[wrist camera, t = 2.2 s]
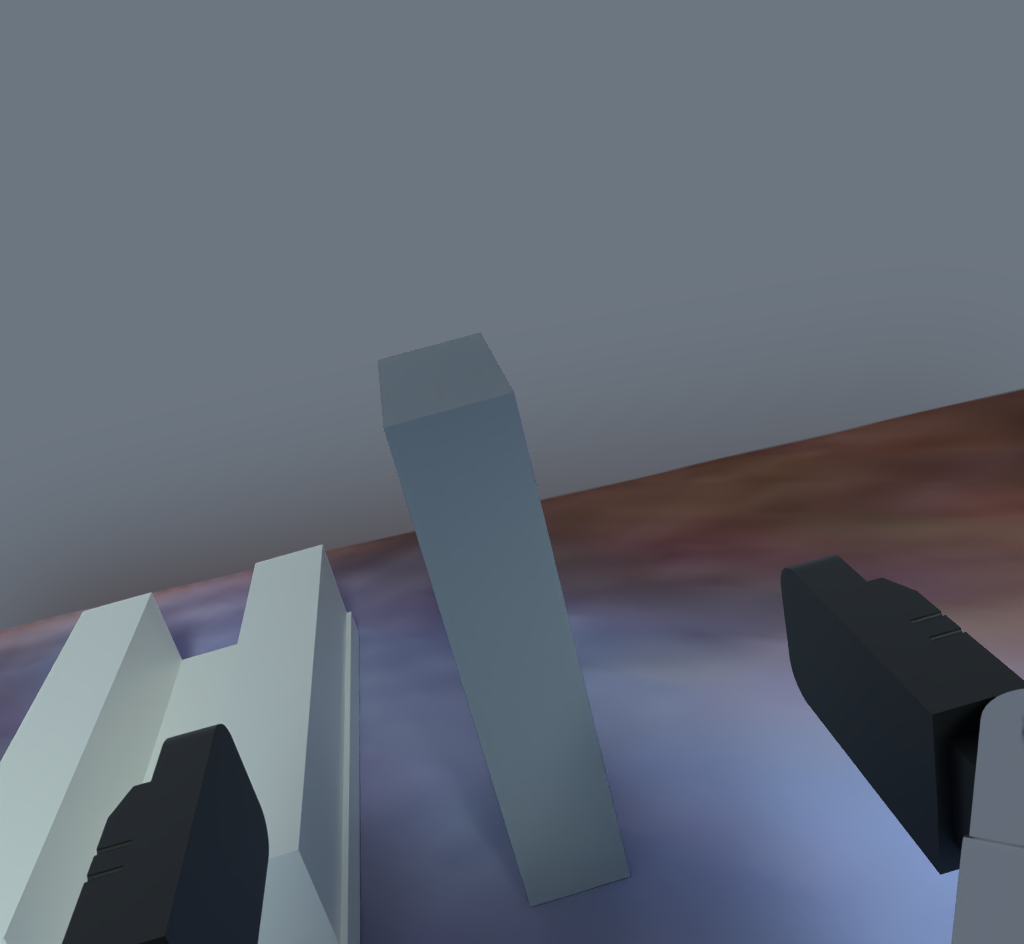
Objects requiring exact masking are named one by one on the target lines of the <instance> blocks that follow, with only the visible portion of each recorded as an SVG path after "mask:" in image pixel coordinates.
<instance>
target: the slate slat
mask: <svg viewBox="0 0 1024 944" xmlns="http://www.w3.org/2000/svg"><path fill="white" fill-rule="evenodd" d="M378 369H379V379H380V391H381V404H382V416H383V427H384V431H385V434H386V437H387V441H388V444H389V447H390V450H391V454H392V457H393V460H394V464H395V467H396V470H397V473H398V477H399V480H400V483H401V486H402V490H403V493H404V496H405V499H406V503H407V506H408V509H409V512H410V516H411V519H412V522H413V525H414V528H415V532H416V535H417V538H418V542H419V545H420V548H421V552H422V555H423V558H424V561H425V565H426V568H427V571H428V574H429V578H430V581H431V584H432V587H433V591H434V594H435V597H436V600H437V604H438V607H439V610H440V613H441V617H442V620H443V623H444V626H445V630H446V633H447V636H448V639H449V643H450V646H451V649H452V653H453V656H454V659H455V662H456V666H457V669H458V672H459V675H460V679H461V682H462V685H463V688H464V692H465V695H466V698H467V701H468V705H469V708H470V711H471V714H472V718H473V721H474V724H475V727H476V731H477V734H478V737H479V740H480V744H481V747H482V750H483V753H484V757H485V760H486V763H487V767H488V770H489V773H490V776H491V780H492V783H493V786H494V789H495V793H496V796H497V799H498V802H499V806H500V809H501V812H502V815H503V819H504V822H505V825H506V828H507V832H508V835H509V838H510V841H511V845H512V848H513V851H514V854H515V858H516V861H517V864H518V868H519V871H520V874H521V877H522V881H523V884H524V887H525V890H526V894H527V897H528V900H529V903H530V907H533V906H536V905H539V904H543V903H546V902H549V901H552V900H556V899H559V898H562V897H565V896H569V895H572V894H575V893H578V892H582V891H585V890H588V889H591V888H595V887H598V886H601V885H604V884H608V883H611V882H614V881H617V880H621V879H624V878H627V877H630V876H631V874H630V870H629V866H628V862H627V858H626V854H625V849H624V845H623V841H622V837H621V833H620V829H619V825H618V820H617V816H616V812H615V808H614V804H613V800H612V796H611V791H610V787H609V783H608V779H607V775H606V771H605V767H604V762H603V758H602V754H601V750H600V746H599V742H598V738H597V734H596V729H595V725H594V721H593V717H592V713H591V709H590V705H589V700H588V696H587V692H586V688H585V684H584V680H583V676H582V671H581V667H580V663H579V659H578V655H577V651H576V647H575V642H574V638H573V634H572V630H571V626H570V622H569V618H568V613H567V609H566V605H565V601H564V597H563V593H562V589H561V585H560V580H559V576H558V572H557V568H556V564H555V560H554V556H553V551H552V547H551V543H550V539H549V535H548V531H547V527H546V522H545V518H544V514H543V510H542V506H541V502H540V498H539V493H538V490H537V485H536V481H535V477H534V473H533V469H532V465H531V460H530V456H529V453H528V448H527V444H526V440H525V436H524V432H523V427H522V423H521V419H520V415H519V411H518V407H517V402H516V398H515V394H514V391H513V389H512V388H511V386H510V384H509V382H508V381H507V379H506V377H505V375H504V374H503V372H502V370H501V368H500V366H499V365H498V363H497V361H496V359H495V358H494V356H493V354H492V352H491V350H490V349H489V347H488V345H487V343H486V342H485V340H484V338H483V336H482V335H481V333H477V334H473V335H470V336H466V337H462V338H459V339H455V340H451V341H447V342H443V343H440V344H436V345H432V346H429V347H425V348H421V349H417V350H414V351H410V352H406V353H402V354H399V355H395V356H391V357H388V358H384V359H380V360H378Z"/></svg>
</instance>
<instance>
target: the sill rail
mask: <svg viewBox="0 0 1024 944" xmlns="http://www.w3.org/2000/svg"><path fill="white" fill-rule="evenodd" d="M217 724H223V725H225V726H226V728H227V729H228V730H229V732H230V734H231V736H232V738H233V741H234V743H235V745H236V748H237V750H238V753H239V755H240V757H241V760H242V762H243V765H244V767H245V769H246V772H247V774H248V777H249V779H250V781H251V784H252V786H253V789H254V791H255V793H256V796H257V798H258V801H259V803H260V805H261V808H262V811H263V814H264V817H265V821H266V826H267V831H268V839H269V859H268V867H267V875H266V883H265V891H264V899H263V907H262V914H261V922H260V930H259V938H258V944H360V786H359V632H358V629H357V627H356V624H355V621H354V618H353V615H352V612H348V613H347V612H346V609H345V606H344V603H343V600H342V598H341V595H340V592H339V589H338V586H337V584H336V581H335V578H334V575H333V572H332V569H331V567H330V564H329V561H328V558H327V555H326V553H325V550H324V547H323V544H322V545H319V546H315V547H312V548H308V549H304V550H301V551H297V552H294V553H290V554H287V555H283V556H280V557H276V558H272V559H269V560H265V561H261V562H258V563H256V564H255V568H254V572H253V577H252V581H251V586H250V590H249V594H248V599H247V603H246V608H245V612H244V617H243V621H242V626H241V630H240V634H239V639H238V643H237V644H236V645H232V646H229V647H225V648H222V649H218V650H215V651H211V652H208V653H204V654H201V655H197V656H194V657H190V658H187V659H183V660H182V658H181V656H180V654H179V652H178V650H177V647H176V645H175V643H174V641H173V638H172V636H171V634H170V632H169V630H168V627H167V625H166V623H165V621H164V618H163V616H162V614H161V612H160V610H159V607H158V605H157V603H156V601H155V599H154V596H153V594H152V592H151V593H147V594H144V595H140V596H136V597H133V598H129V599H126V600H122V601H119V602H115V603H111V604H108V605H104V606H101V607H97V608H94V609H90V610H86V611H83V613H82V614H81V616H80V618H79V620H78V622H77V623H76V625H75V627H74V629H73V631H72V633H71V634H70V636H69V638H68V640H67V642H66V644H65V645H64V647H63V649H62V651H61V653H60V654H59V656H58V658H57V660H56V662H55V664H54V665H53V667H52V669H51V671H50V673H49V674H48V676H47V678H46V680H45V682H44V684H43V685H42V687H41V689H40V691H39V693H38V694H37V696H36V698H35V700H34V702H33V704H32V705H31V707H30V709H29V711H28V713H27V714H26V716H25V718H24V720H23V722H22V724H21V725H20V727H19V729H18V731H17V733H16V735H15V736H14V738H13V740H12V742H11V744H10V745H9V747H8V749H7V751H6V753H5V755H4V756H3V758H2V760H1V762H0V944H62V942H63V939H64V936H65V933H66V931H67V928H68V925H69V923H70V920H71V917H72V914H73V912H74V909H75V906H76V903H77V901H78V898H79V895H80V892H81V890H82V887H83V884H84V882H87V873H88V871H89V868H90V865H91V862H92V860H93V857H94V856H95V855H97V850H96V849H97V846H98V843H99V841H100V838H101V835H102V832H103V830H104V827H105V824H106V821H107V819H108V817H109V816H110V815H111V813H112V812H113V811H114V810H115V808H116V807H117V806H118V805H119V803H120V802H121V801H122V800H123V798H124V797H125V796H126V795H127V793H128V792H129V791H130V790H131V788H132V787H133V786H136V785H140V784H143V783H147V782H150V781H151V779H152V776H153V773H154V770H155V767H156V764H157V761H158V758H159V754H160V751H161V748H162V745H163V743H164V741H165V740H166V739H167V738H170V737H174V736H177V735H181V734H184V733H188V732H192V731H195V730H199V729H202V728H206V727H210V726H213V725H217Z"/></svg>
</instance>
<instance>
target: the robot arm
mask: <svg viewBox="0 0 1024 944" xmlns="http://www.w3.org/2000/svg"><path fill="white" fill-rule="evenodd" d="M781 590H782V598H783V606H784V614H785V623H786V631H787V639H788V647H789V656H790V662H791V667H792V670H793V674H794V677H795V680H796V682H797V685H798V687H799V689H800V691H801V693H802V695H803V697H804V699H805V700H806V702H807V703H808V705H809V706H810V707H811V708H812V710H813V711H814V712H815V714H816V715H817V716H818V717H819V719H820V720H821V721H822V723H823V724H824V725H825V727H826V728H827V729H828V730H829V732H830V733H831V734H832V736H833V737H834V738H835V739H836V741H837V742H838V743H839V745H840V746H841V747H842V748H843V750H844V751H845V752H846V754H847V755H848V756H849V757H850V759H851V760H852V761H853V763H854V764H855V765H856V766H857V768H858V769H859V770H860V772H861V773H862V774H863V776H864V777H865V778H866V779H867V781H868V782H869V783H870V785H871V786H872V787H873V788H874V790H875V791H876V792H877V794H878V795H879V796H880V797H881V799H882V800H883V801H884V803H885V804H886V805H887V806H888V808H889V809H890V810H891V812H892V813H893V814H894V815H895V817H896V818H897V819H898V821H899V822H900V823H901V824H902V826H903V827H904V828H905V830H906V831H907V832H908V834H909V835H910V836H911V837H912V839H913V840H914V841H915V843H916V844H917V845H918V846H919V848H920V849H921V850H922V852H923V853H924V854H925V855H926V857H927V858H928V859H929V861H930V862H931V863H932V864H933V866H934V867H935V868H936V870H937V871H938V872H939V873H940V875H941V874H944V873H947V872H950V871H954V870H957V869H959V877H958V887H957V896H956V906H955V915H954V924H953V934H952V943H951V944H1024V680H1023V679H1021V678H1020V677H1019V676H1018V675H1017V674H1015V673H1014V672H1013V671H1012V670H1011V669H1009V668H1008V667H1007V666H1006V665H1005V664H1003V663H1002V662H1001V661H1000V660H999V659H997V658H996V657H995V656H994V655H993V654H991V653H990V652H989V651H988V650H987V649H985V648H984V647H983V646H982V645H981V644H979V643H978V642H977V641H976V640H975V639H973V638H972V637H971V636H970V635H969V634H968V633H966V632H964V633H962V631H961V628H960V627H959V626H958V625H957V624H956V623H954V622H953V621H952V620H951V619H950V618H948V617H947V616H946V615H945V616H942V614H941V611H940V610H939V609H938V608H936V607H935V606H934V605H933V604H932V603H930V602H929V601H928V600H927V599H926V598H924V597H923V596H922V595H921V594H920V593H918V592H917V591H915V590H912V589H910V588H907V587H905V586H902V585H900V584H897V583H894V582H892V581H889V580H887V579H884V578H879V579H875V580H872V581H868V582H867V581H866V580H865V579H863V578H862V577H861V576H860V575H859V574H858V573H857V572H856V571H855V570H853V569H852V568H851V567H850V566H849V565H848V564H847V563H846V562H845V561H843V560H842V559H841V558H840V557H839V556H837V555H830V556H826V557H823V558H819V559H816V560H812V561H808V562H805V563H801V564H798V565H794V566H790V567H787V568H784V569H783V570H782V573H781ZM96 850H97V855H95V856H94V857H93V860H92V862H91V865H90V868H89V871H88V873H87V882H84V884H83V887H82V890H81V892H80V895H79V898H78V901H77V903H76V906H75V909H74V912H73V914H72V917H71V920H70V923H69V925H68V928H67V931H66V933H65V936H64V939H63V942H62V944H258V938H259V930H260V922H261V914H262V907H263V899H264V891H265V883H266V875H267V867H268V859H269V839H268V831H267V826H266V821H265V817H264V814H263V811H262V808H261V805H260V803H259V801H258V798H257V796H256V793H255V791H254V789H253V786H252V784H251V781H250V779H249V777H248V774H247V772H246V769H245V767H244V765H243V762H242V760H241V757H240V755H239V753H238V750H237V748H236V745H235V743H234V741H233V738H232V736H231V734H230V732H229V730H228V729H227V728H226V726H225V725H223V724H217V725H213V726H210V727H206V728H202V729H199V730H195V731H192V732H188V733H184V734H181V735H177V736H174V737H170V738H167V739H166V740H165V741H164V743H163V745H162V748H161V751H160V754H159V758H158V761H157V764H156V767H155V770H154V773H153V776H152V779H151V781H150V782H147V783H143V784H140V785H136V786H133V787H132V788H131V790H130V791H129V792H128V793H127V795H126V796H125V797H124V798H123V800H122V801H121V802H120V803H119V805H118V806H117V807H116V808H115V810H114V811H113V812H112V813H111V815H110V816H109V817H108V819H107V821H106V824H105V827H104V830H103V832H102V835H101V838H100V841H99V843H98V846H97V849H96Z"/></svg>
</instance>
